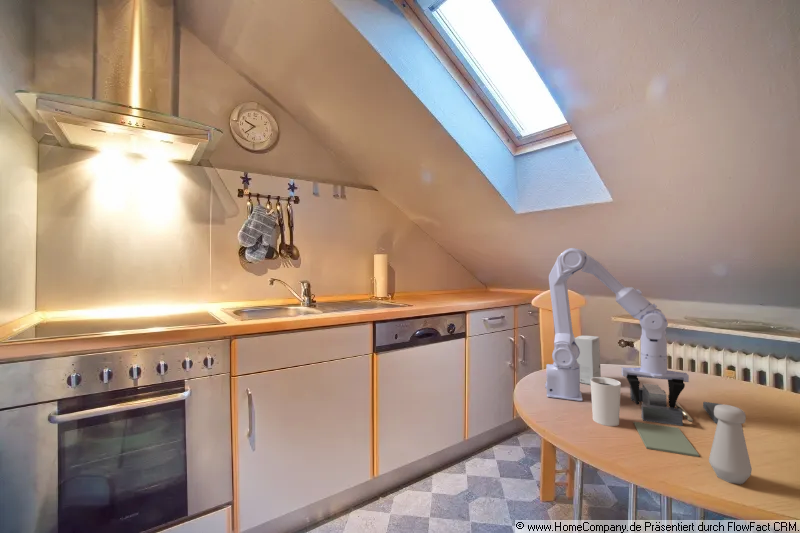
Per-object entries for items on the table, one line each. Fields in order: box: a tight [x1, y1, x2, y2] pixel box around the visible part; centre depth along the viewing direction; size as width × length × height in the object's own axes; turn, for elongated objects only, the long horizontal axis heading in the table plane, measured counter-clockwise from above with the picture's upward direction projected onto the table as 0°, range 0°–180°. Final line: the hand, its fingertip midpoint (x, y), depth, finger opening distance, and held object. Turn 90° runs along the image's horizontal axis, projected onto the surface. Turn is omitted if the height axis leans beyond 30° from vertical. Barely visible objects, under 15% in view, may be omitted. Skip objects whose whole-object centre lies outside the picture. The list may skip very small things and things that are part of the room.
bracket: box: [702, 401, 724, 425], centre depth 91 cm, size 4×11×2 cm, turn 151°
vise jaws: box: [629, 385, 694, 427], centre depth 94 cm, size 10×16×4 cm, turn 157°
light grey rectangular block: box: [641, 383, 668, 407], centre depth 95 cm, size 4×8×6 cm, turn 157°
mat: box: [633, 421, 700, 458], centre depth 80 cm, size 9×13×1 cm
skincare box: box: [575, 334, 602, 386], centre depth 119 cm, size 8×6×15 cm
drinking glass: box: [590, 376, 622, 427], centre depth 89 cm, size 7×7×10 cm
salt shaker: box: [708, 404, 752, 485], centre depth 65 cm, size 6×6×13 cm
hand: (654, 405), depth 95 cm, fingers open, 7 cm apart
